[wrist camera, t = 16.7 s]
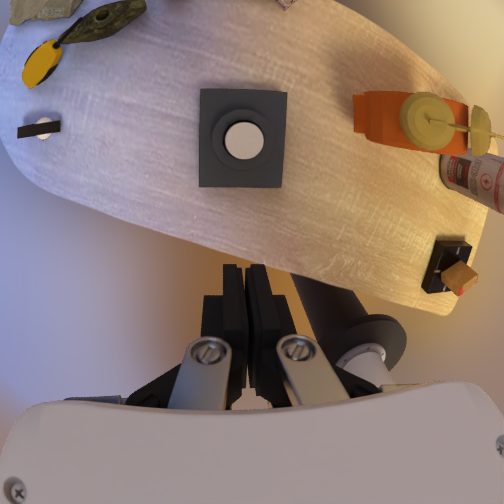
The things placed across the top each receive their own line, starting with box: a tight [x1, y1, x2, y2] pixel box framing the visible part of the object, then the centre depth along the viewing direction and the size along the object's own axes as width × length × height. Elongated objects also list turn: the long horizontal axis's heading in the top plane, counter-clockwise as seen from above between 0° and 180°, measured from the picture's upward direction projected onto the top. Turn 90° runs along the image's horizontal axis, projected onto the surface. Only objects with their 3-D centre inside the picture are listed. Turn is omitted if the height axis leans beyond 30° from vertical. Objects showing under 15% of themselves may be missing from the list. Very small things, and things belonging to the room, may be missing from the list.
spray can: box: [440, 148, 504, 214], centre depth 29 cm, size 8×8×20 cm
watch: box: [17, 117, 60, 141], centre depth 28 cm, size 8×5×4 cm
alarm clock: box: [353, 91, 504, 156], centre depth 25 cm, size 13×6×20 cm, turn 94°
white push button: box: [225, 122, 264, 159], centre depth 29 cm, size 4×4×2 cm
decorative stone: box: [58, 0, 146, 44], centre depth 23 cm, size 12×5×4 cm, turn 118°
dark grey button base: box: [199, 89, 287, 188], centre depth 32 cm, size 12×10×5 cm
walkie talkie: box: [22, 17, 83, 89], centre depth 22 cm, size 5×2×15 cm
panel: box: [421, 240, 472, 294], centre depth 46 cm, size 10×10×3 cm
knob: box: [441, 260, 478, 297], centre depth 42 cm, size 6×2×6 cm, turn 117°
